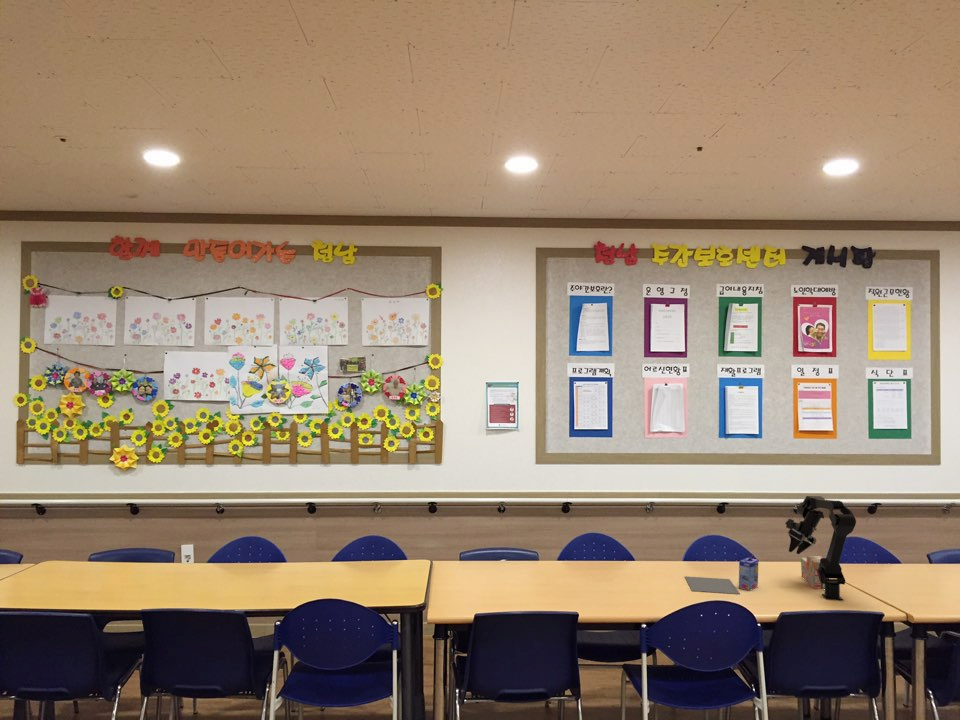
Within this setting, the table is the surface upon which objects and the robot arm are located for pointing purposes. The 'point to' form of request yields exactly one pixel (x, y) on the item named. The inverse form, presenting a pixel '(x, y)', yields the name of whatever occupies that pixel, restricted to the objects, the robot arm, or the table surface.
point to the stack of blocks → (811, 571)
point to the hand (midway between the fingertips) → (793, 552)
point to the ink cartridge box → (748, 573)
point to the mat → (711, 585)
